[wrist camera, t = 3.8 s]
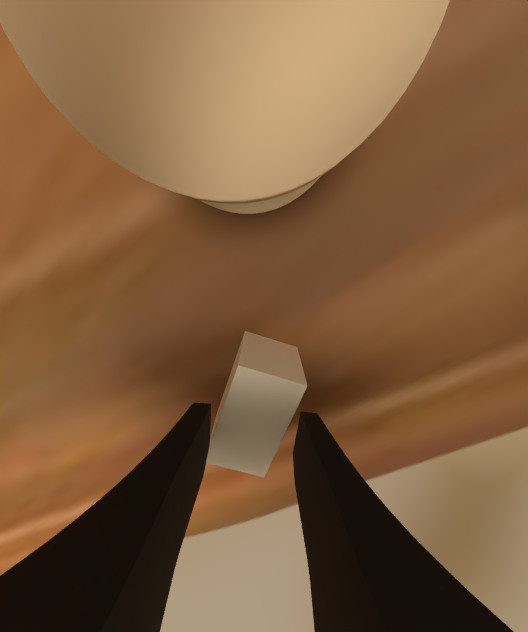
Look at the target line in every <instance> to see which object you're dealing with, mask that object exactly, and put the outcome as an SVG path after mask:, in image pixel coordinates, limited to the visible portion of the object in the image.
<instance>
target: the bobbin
mask: <svg viewBox="0 0 528 632" xmlns="http://www.w3.org/2000/svg"><path fill="white" fill-rule="evenodd" d="M449 1H450V0H0V23H1V25H2V27H3V29H4V31H5V34H6V35H7V37H8V39H9V40H10V42H11V44H12V45H13V47H14V49H15V50H16V52H17V54H18V56H19V57H20V59H21V61H22V62H23V64H24V66H25V67H26V69H27V70H28V72H29V73H30V75H31V76H32V77H33V79H34V80H35V82H36V83H37V84H38V86H39V87H40V88H41V90H42V91H43V93H44V94H45V95H46V97H47V98H48V99H49V101H50V102H51V103H52V104H53V105H54V106H55V107H56V109H57V110H58V111H59V112H60V113H61V114H62V115H63V117H64V118H65V119H66V120H67V121H68V122H69V123H70V125H71V126H72V127H74V128H75V129H76V130H77V131H78V132H79V133H80V134H81V135H82V136H83V137H84V138H85V139H86V140H87V141H89V142H90V143H91V144H92V145H93V146H94V147H95V148H96V149H98V150H99V151H100V152H102V153H103V154H104V155H106V156H107V157H109V158H110V159H111V160H113V161H114V162H115V163H117V164H118V165H119V166H121V167H123V168H125V169H126V170H128V171H130V172H131V173H133V174H135V175H137V176H138V177H140V178H142V179H144V180H146V181H148V182H151V183H153V184H156V185H158V186H160V187H163V188H165V189H167V190H170V191H173V192H175V193H178V194H180V195H183V196H187V197H191V198H195V199H198V200H200V201H202V202H203V203H205V204H208V205H210V206H213V207H215V208H217V209H220V210H224V211H227V212H231V213H238V214H258V213H264V212H268V211H272V210H275V209H278V208H280V207H282V206H284V205H287V204H289V203H290V202H292V201H293V200H295V199H296V198H298V197H299V196H301V195H302V194H303V193H304V192H305V191H307V190H308V189H309V188H310V187H311V186H312V185H313V184H314V183H315V182H316V181H317V180H318V179H319V178H320V177H321V176H322V175H323V174H325V173H326V172H328V171H329V170H331V169H332V168H333V167H334V166H335V165H337V164H338V163H339V162H340V161H341V160H342V159H344V158H345V157H346V156H347V155H348V154H350V153H351V152H352V151H353V150H354V149H355V148H357V147H358V146H359V145H360V144H361V143H362V142H363V141H364V140H365V139H366V138H367V137H368V136H369V135H370V134H371V133H372V132H373V131H374V130H375V128H376V127H377V126H378V125H379V124H380V123H381V122H382V121H383V120H384V119H385V118H386V116H387V115H388V114H389V112H390V111H391V110H392V108H393V107H394V106H395V104H396V103H397V102H398V100H399V99H400V98H401V96H402V95H403V94H404V92H405V91H406V89H407V87H408V86H409V84H410V82H411V81H412V79H413V77H414V76H415V74H416V72H417V71H418V69H419V67H420V66H421V64H422V62H423V61H424V59H425V57H426V55H427V52H428V50H429V48H430V46H431V44H432V42H433V40H434V38H435V36H436V34H437V31H438V29H439V27H440V25H441V23H442V20H443V17H444V15H445V12H446V9H447V7H448V4H449Z"/></svg>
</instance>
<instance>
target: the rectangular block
mask: <svg viewBox="0 0 528 632" xmlns="http://www.w3.org/2000/svg"><path fill="white" fill-rule="evenodd" d="M306 388H307V382H306V379H305V375H304V371H303V367H302V363H301V360H300V356H299V352H298V348H297V347H295V346H292V345H289V344H286V343H282V342H279V341H276V340H273V339H270V338H266V337H263V336H260V335H257V334H254V333H250V332H247V331H245V332H244V335H243V338H242V341H241V344H240V347H239V350H238V353H237V356H236V358H235V361H234V364H233V367H232V370H231V373H230V376H229V379H228V382H227V385H226V388H225V391H224V394H223V396H222V399H221V402H220V405H219V408H218V411H217V415H216V419H215V423H214V427H213V430H212V434H211V438H210V446H209V451H208V456H207V461H206V463H209V464H213V465H217V466H221V467H224V468H228V469H232V470H236V471H240V472H244V473H248V474H252V475H256V476H260V477H265V475H266V473H267V471H268V469H269V466H270V464H271V462H272V460H273V458H274V456H275V454H276V452H277V449H278V447H279V445H280V443H281V441H282V439H283V437H284V435H285V432H286V430H287V428H288V426H289V424H290V422H291V420H292V418H293V416H294V413H295V411H296V409H297V407H298V405H299V403H300V401H301V399H302V396H303V394H304V392H305V390H306Z"/></svg>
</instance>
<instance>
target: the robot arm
mask: <svg viewBox="0 0 528 632" xmlns="http://www.w3.org/2000/svg"><path fill="white" fill-rule="evenodd" d="M210 422H211V404H207V403H194V404H192V405H191V406H190V408H189V409H188V410H187V412H186V413H185V414H184V415H183V416H182V418H181V419H180V420H179V421H178V422H177V424H176V425H175V426H174V427H173V428H172V429H171V431H170V432H169V433H168V434H167V435H166V436H165V437H164V438H163V439H162V440H161V441H160V443H159V444H158V445H157V446H156V447H155V448H154V449H153V450H152V451H151V452H150V453H149V454H148V455H147V456H146V457H145V458H144V459H143V460H142V461H141V462H140V463H139V464H138V465H137V466H136V467H135V468H134V469H133V470H132V471H131V472H130V473H129V474H128V475H127V476H126V477H124V478H123V479H122V480H121V481H120V482H119V483H118V484H117V485H116V486H115V487H114V488H112V489H111V490H110V491H109V492H108V493H107V494H105V495H104V496H103V497H102V498H101V499H100V500H99V501H97V502H96V503H95V504H94V505H93V506H91V507H90V508H89V509H88V510H86V511H85V512H84V513H83V514H82V515H80V516H79V517H78V518H77V519H75V520H74V521H73V522H72V523H71V524H69V525H68V526H67V527H66V528H64V529H63V530H62V531H60V532H59V533H58V534H57V535H55V536H54V537H53V538H51V539H50V540H49V541H47V542H46V543H45V544H43V545H42V546H41V547H39V548H38V549H36V550H35V551H34V552H32V553H31V554H30V555H28V556H27V557H26V558H24V559H23V560H21V561H20V562H19V563H17V564H16V565H15V566H13V567H12V568H10V569H9V570H8V571H6V572H5V573H4V574H2V575H1V576H0V632H160V628H161V624H162V619H163V615H164V611H165V607H166V602H167V598H168V594H169V590H170V586H171V582H172V578H173V574H174V569H175V566H176V562H177V558H178V555H179V551H180V548H181V545H182V542H183V539H184V536H185V532H186V529H187V526H188V523H189V520H190V516H191V513H192V510H193V507H194V504H195V501H196V497H197V494H198V491H199V488H200V485H201V481H202V478H203V475H204V470H205V465H206V461H207V456H208V451H209V446H210ZM293 461H294V477H295V487H296V493H297V499H298V505H299V511H300V517H301V523H302V529H303V535H304V542H305V548H306V554H307V559H308V567H309V575H310V582H311V583H310V584H311V595H312V605H313V616H314V627H315V632H513V631H512V630H511V629H510V628H509V627H508V626H507V625H506V624H504V623H503V622H502V621H501V620H500V619H499V618H498V617H497V616H496V615H494V614H493V613H492V612H491V611H490V610H489V609H488V608H487V607H486V606H485V605H483V604H482V603H481V602H480V601H479V600H478V599H477V598H476V597H474V596H473V595H472V594H471V593H470V592H469V591H468V590H467V589H466V588H465V587H464V586H463V585H462V584H461V583H460V582H459V581H458V580H456V579H455V578H454V577H453V576H452V575H451V574H450V573H449V572H448V571H447V570H446V569H445V568H444V567H443V566H442V565H441V564H440V563H439V562H438V561H437V560H436V559H435V558H434V557H433V556H432V555H431V554H430V553H429V552H428V551H427V550H426V549H425V548H424V547H423V546H422V545H421V544H420V543H419V542H418V541H417V540H416V539H415V538H414V537H413V536H412V535H411V534H410V533H409V532H408V530H407V529H406V528H405V527H404V526H403V525H402V524H401V523H400V522H399V521H398V519H396V517H395V516H394V515H393V514H392V513H391V512H390V511H389V510H388V508H387V507H386V506H385V505H384V504H383V503H382V501H381V500H380V499H379V498H378V497H377V495H376V494H375V493H374V492H373V490H372V489H371V488H370V487H369V485H368V484H367V483H366V482H365V480H364V479H363V478H362V477H361V475H360V474H359V473H358V471H357V470H356V469H355V467H354V466H353V465H352V463H351V462H350V461H349V459H348V458H347V456H346V455H345V454H344V452H343V451H342V450H341V448H340V447H339V445H338V444H337V442H336V441H335V439H334V438H333V436H332V435H331V433H330V432H329V430H328V429H327V427H326V426H325V424H324V423H323V421H322V420H321V418H320V417H319V415H318V414H317V413H308V412H301V414H300V419H299V424H298V430H297V435H296V440H295V445H294V451H293Z"/></svg>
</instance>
